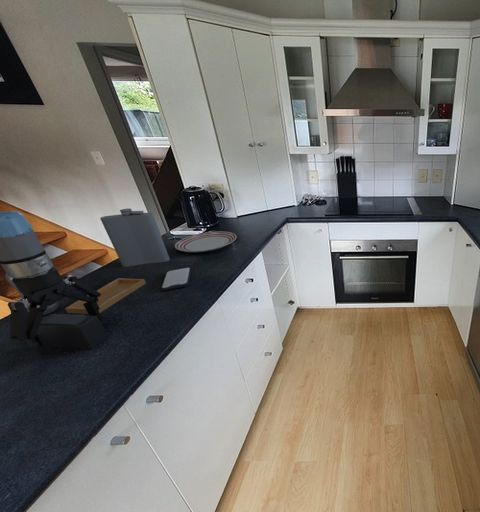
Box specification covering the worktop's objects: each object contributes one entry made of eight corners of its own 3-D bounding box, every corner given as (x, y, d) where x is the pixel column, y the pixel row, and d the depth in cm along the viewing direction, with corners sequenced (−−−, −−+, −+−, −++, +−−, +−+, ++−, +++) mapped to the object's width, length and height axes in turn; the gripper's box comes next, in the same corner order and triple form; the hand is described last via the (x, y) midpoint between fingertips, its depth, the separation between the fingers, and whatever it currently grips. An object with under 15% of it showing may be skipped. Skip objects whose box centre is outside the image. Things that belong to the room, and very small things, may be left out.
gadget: (45, 346, 78) (29, 324, 74) (65, 334, 82) (50, 312, 79) (92, 349, 77) (78, 326, 74) (109, 336, 82) (96, 315, 78)
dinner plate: (199, 235, 155) (198, 229, 153) (247, 236, 154) (245, 230, 152) (162, 256, 130) (160, 250, 128) (218, 258, 129) (217, 251, 128)
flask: (171, 257, 129) (152, 206, 118) (168, 261, 125) (148, 208, 114) (126, 262, 124) (101, 209, 113) (121, 267, 120) (95, 212, 109)
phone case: (167, 274, 115) (161, 292, 103) (166, 271, 115) (160, 289, 102) (192, 269, 119) (189, 286, 107) (191, 266, 119) (188, 283, 106)
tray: (67, 313, 91) (64, 308, 91) (120, 282, 109) (118, 278, 108) (97, 314, 91) (94, 309, 90) (146, 283, 109) (144, 279, 108)
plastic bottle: (38, 309, 93) (2, 257, 84) (65, 304, 96) (33, 253, 87) (27, 321, 88) (-13, 266, 79) (56, 315, 90) (21, 262, 82)
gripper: (-20, 301, 58) (35, 371, 68) (96, 252, 80) (126, 309, 90) (-53, 300, 58) (7, 370, 68) (72, 251, 81) (104, 309, 90)
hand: (75, 336), depth 79 cm, fingers open, 13 cm apart
